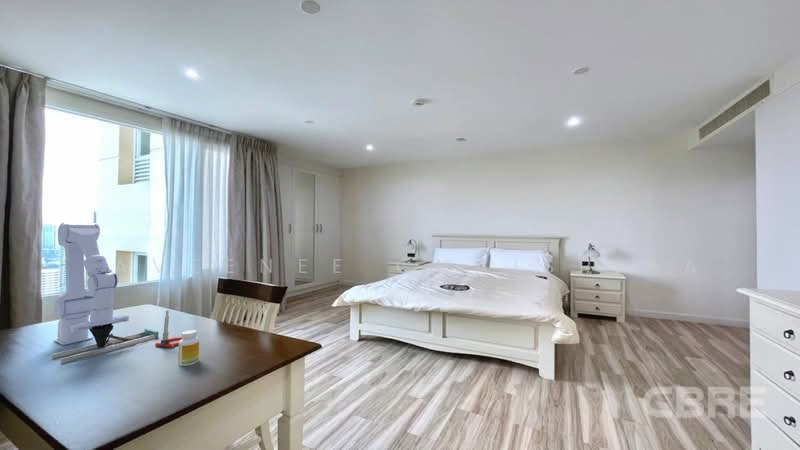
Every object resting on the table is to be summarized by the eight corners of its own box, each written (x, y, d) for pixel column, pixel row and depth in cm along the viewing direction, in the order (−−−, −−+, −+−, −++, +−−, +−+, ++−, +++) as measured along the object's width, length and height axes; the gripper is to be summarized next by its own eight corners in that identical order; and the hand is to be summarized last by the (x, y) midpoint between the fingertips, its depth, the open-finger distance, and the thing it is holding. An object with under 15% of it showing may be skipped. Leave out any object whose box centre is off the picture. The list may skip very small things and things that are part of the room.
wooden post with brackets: (100, 345, 108) (107, 332, 109) (127, 349, 112) (134, 337, 114) (99, 346, 107) (106, 333, 108) (126, 351, 111) (133, 338, 112)
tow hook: (175, 339, 119) (152, 347, 109) (177, 305, 119) (155, 310, 110) (194, 340, 117) (173, 348, 108) (196, 306, 118) (175, 311, 109)
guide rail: (51, 358, 99) (51, 350, 99) (147, 334, 122) (147, 328, 122) (63, 365, 94) (64, 357, 94) (160, 338, 118) (160, 332, 118)
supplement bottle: (202, 360, 99) (203, 330, 99) (186, 367, 94) (187, 335, 94) (190, 358, 101) (191, 328, 101) (174, 364, 96) (174, 333, 96)
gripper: (77, 314, 98) (76, 357, 98) (133, 304, 111) (132, 342, 111) (68, 311, 102) (67, 352, 101) (123, 302, 114) (122, 339, 114)
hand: (100, 347), depth 106 cm, fingers closed
